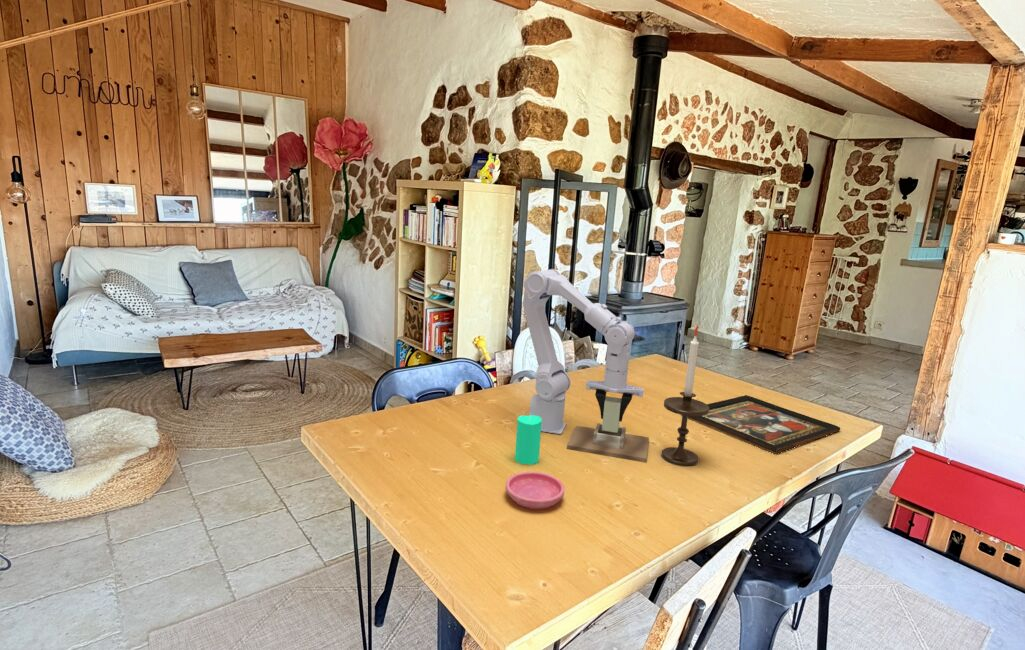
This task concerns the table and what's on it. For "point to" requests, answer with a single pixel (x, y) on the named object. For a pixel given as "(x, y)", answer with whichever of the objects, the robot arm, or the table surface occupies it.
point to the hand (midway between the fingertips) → (611, 418)
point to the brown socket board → (609, 443)
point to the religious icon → (763, 424)
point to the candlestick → (685, 412)
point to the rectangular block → (611, 414)
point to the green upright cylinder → (528, 439)
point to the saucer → (534, 489)
